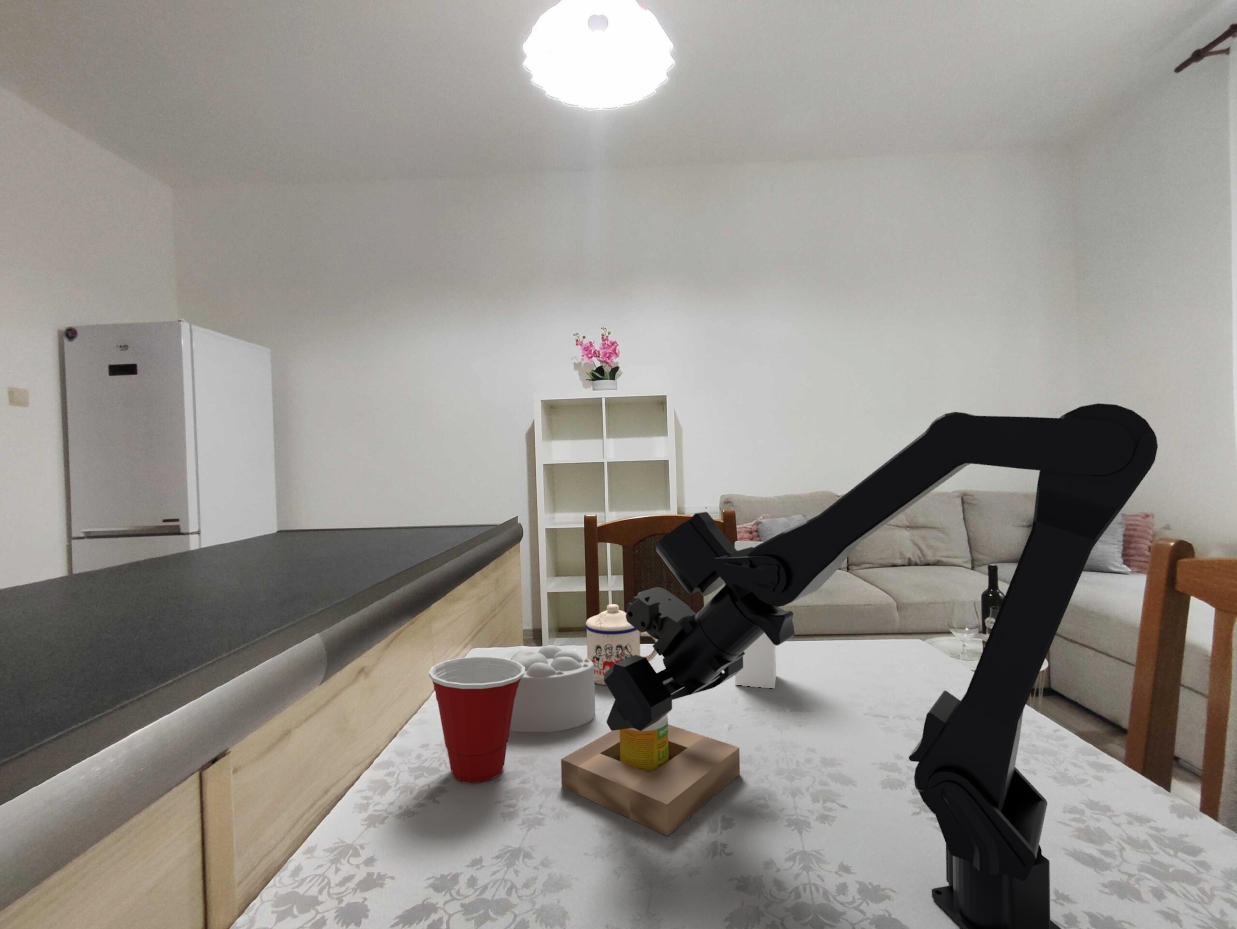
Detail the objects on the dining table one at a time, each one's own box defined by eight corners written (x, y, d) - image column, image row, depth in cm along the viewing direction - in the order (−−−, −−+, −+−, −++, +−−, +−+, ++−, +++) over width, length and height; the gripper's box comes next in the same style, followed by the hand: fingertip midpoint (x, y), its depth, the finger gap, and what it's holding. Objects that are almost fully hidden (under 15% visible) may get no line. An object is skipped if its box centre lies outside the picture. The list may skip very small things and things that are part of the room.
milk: (738, 672, 99) (735, 538, 99) (776, 675, 97) (773, 539, 97) (734, 686, 93) (731, 543, 93) (775, 689, 91) (772, 544, 91)
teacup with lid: (584, 687, 94) (582, 612, 94) (588, 667, 103) (586, 599, 103) (661, 686, 93) (660, 611, 93) (658, 666, 103) (657, 598, 102)
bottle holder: (739, 774, 67) (739, 747, 67) (667, 836, 56) (667, 804, 56) (640, 738, 76) (639, 715, 76) (561, 786, 65) (561, 758, 65)
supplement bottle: (665, 793, 64) (664, 701, 64) (615, 788, 65) (614, 698, 65) (671, 767, 69) (670, 682, 69) (625, 763, 70) (623, 680, 70)
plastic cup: (546, 770, 69) (543, 666, 69) (458, 808, 62) (455, 691, 62) (497, 738, 77) (495, 645, 77) (415, 768, 70) (412, 665, 70)
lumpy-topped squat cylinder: (511, 700, 89) (509, 642, 89) (598, 700, 89) (597, 641, 89) (492, 732, 79) (491, 666, 79) (591, 732, 78) (590, 666, 78)
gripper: (718, 555, 71) (645, 632, 78) (617, 582, 57) (539, 673, 64) (782, 633, 66) (697, 708, 73) (689, 685, 52) (595, 771, 59)
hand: (636, 711), depth 68 cm, fingers open, 9 cm apart
